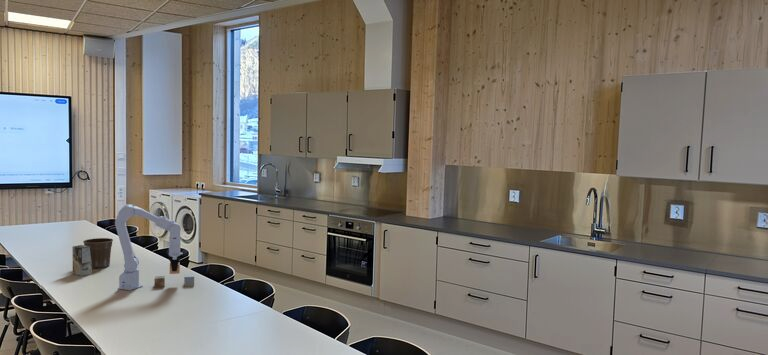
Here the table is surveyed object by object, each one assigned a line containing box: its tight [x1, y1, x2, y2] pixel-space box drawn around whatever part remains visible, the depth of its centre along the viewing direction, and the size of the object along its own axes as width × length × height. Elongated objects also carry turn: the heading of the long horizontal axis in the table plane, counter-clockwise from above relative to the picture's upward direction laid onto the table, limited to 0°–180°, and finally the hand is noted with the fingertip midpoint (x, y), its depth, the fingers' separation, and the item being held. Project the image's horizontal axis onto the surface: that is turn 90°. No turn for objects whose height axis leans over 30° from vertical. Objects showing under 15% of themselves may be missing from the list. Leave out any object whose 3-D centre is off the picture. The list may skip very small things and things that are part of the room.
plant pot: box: [82, 237, 114, 269], centre depth 335 cm, size 16×16×16 cm
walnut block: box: [153, 275, 166, 289], centre depth 297 cm, size 5×5×5 cm
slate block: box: [183, 274, 195, 287], centre depth 302 cm, size 5×5×5 cm
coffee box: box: [71, 244, 93, 277], centre depth 316 cm, size 9×6×16 cm
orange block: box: [169, 261, 181, 275], centre depth 299 cm, size 5×5×5 cm
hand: (174, 269), depth 299 cm, fingers closed on orange block, 5 cm apart
